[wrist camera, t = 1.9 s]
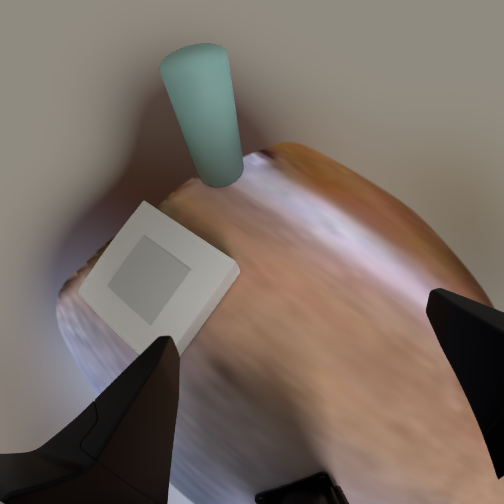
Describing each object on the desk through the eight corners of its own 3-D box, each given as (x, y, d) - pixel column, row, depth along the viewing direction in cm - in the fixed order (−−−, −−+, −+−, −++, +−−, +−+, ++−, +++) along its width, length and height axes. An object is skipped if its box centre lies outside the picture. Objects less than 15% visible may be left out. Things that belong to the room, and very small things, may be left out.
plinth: (171, 368, 21) (157, 371, 18) (95, 298, 24) (76, 291, 21) (240, 272, 24) (236, 260, 21) (155, 215, 26) (143, 199, 23)
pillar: (224, 194, 26) (194, 83, 14) (188, 174, 27) (145, 71, 15) (252, 161, 27) (241, 49, 15) (216, 144, 28) (191, 40, 16)
